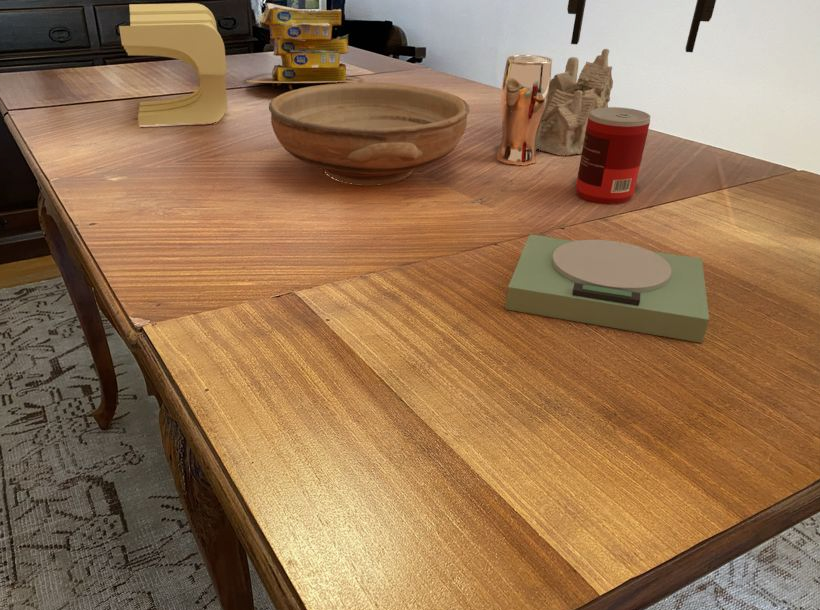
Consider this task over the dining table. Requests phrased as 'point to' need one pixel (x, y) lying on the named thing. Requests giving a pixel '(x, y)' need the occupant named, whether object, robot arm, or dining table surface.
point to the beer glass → (523, 106)
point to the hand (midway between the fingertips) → (630, 46)
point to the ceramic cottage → (573, 105)
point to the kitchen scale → (611, 286)
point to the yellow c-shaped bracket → (180, 58)
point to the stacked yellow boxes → (305, 45)
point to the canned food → (612, 154)
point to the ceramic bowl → (368, 128)
